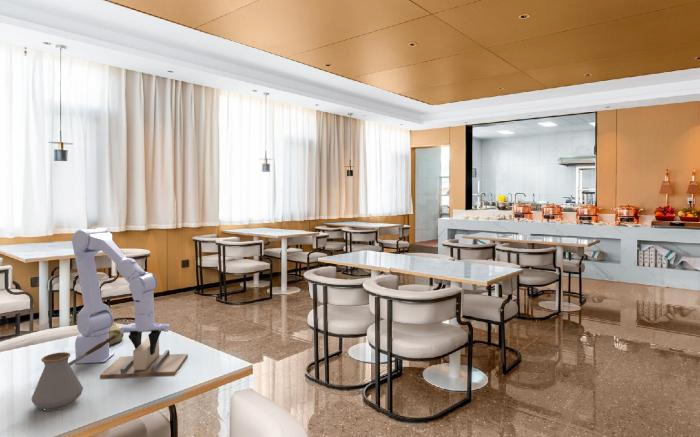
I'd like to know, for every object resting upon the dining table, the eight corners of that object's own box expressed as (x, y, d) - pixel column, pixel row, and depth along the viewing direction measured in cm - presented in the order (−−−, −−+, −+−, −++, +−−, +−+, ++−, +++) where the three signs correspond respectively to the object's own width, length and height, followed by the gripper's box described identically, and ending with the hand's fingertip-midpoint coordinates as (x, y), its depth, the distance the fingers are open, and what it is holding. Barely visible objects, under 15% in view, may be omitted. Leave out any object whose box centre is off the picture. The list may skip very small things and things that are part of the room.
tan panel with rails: (100, 378, 135) (99, 370, 135) (120, 359, 150) (120, 352, 150) (175, 374, 137) (174, 366, 137) (187, 356, 152) (187, 349, 152)
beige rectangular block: (133, 370, 137) (133, 351, 137) (148, 355, 150) (147, 337, 150) (145, 369, 138) (144, 350, 137) (159, 354, 151) (158, 337, 150)
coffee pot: (38, 419, 111) (34, 360, 110) (27, 404, 119) (24, 349, 118) (127, 390, 126) (125, 338, 125) (113, 379, 134) (111, 330, 133)
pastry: (95, 337, 174) (94, 316, 173) (129, 335, 176) (128, 315, 175) (78, 349, 160) (77, 327, 159) (115, 347, 162) (114, 326, 161)
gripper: (171, 308, 147) (173, 348, 148) (125, 309, 145) (127, 350, 146) (164, 314, 140) (166, 356, 141) (116, 315, 138) (118, 358, 139)
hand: (146, 353), depth 143 cm, fingers closed on beige rectangular block, 3 cm apart
